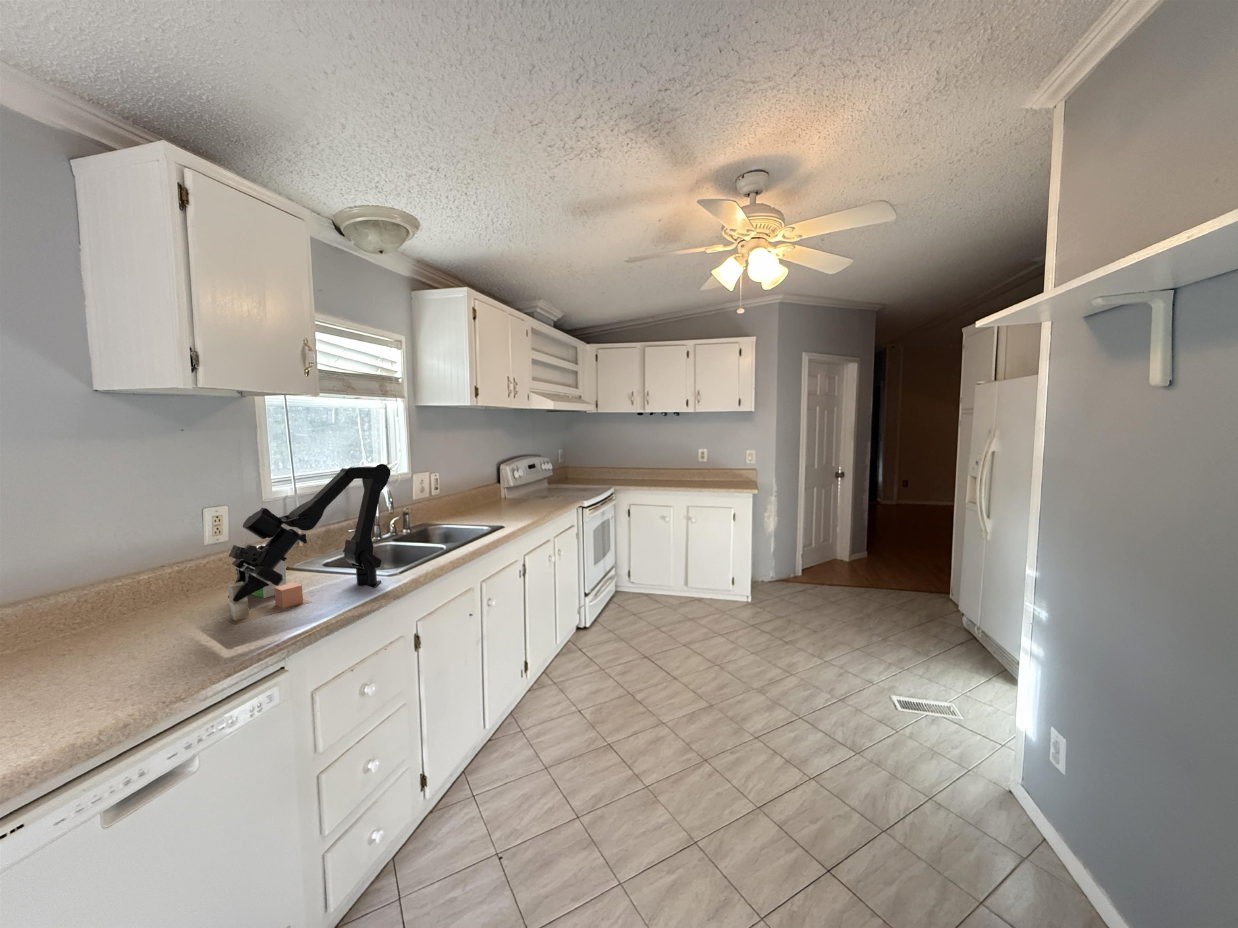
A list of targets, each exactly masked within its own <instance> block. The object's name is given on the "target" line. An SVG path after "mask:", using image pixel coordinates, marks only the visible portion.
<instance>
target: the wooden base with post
mask: <svg viewBox="0 0 1238 928" xmlns="http://www.w3.org/2000/svg"><path fill="white" fill-rule="evenodd" d="M243 583H244V582H237V583H235V582H234V583H229V584H227V588H228V596H229V598H228V599H229V609H230V610H229V611H230V614H229V615H226V616H222V618H223V619H225V620H226V621H228V622H230V623H231V624H233V625H239V624H243V623H245V622H249V621H252V620H256V619H260V618H263V617H267V616H270V615H274V614H276V613H280V612H284V611H288V610H291V609H294V608H297V607H301V606H304V605H305V606H306V605H308V604H312V603H313V602H312V601H310V600H308V599H306V598H303V603H300V604H296V605H293V606H289V607H286V608H282V607H279V606H277V605H275V602H272V603H269V604H266V605H262V606H258V607H254V608H251V609H249V602H248V601H249V600H248V596H247V597H245V598H243V599H241V600H240V601H238V602H235V601H233V598H234V597H235V595H236V593H237V592H238V591H239V589H240V588H241V586H242V585H243Z"/></svg>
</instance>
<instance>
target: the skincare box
mask: <svg viewBox="0 0 1238 928" xmlns="http://www.w3.org/2000/svg"><path fill="white" fill-rule="evenodd" d="M261 545H263V546H265V545H266V543H264V544H260V545H256V546H257V548H258V547H259V546H261ZM286 569H287V565H286V560H285V561H281V562H280V563H279V564H278V565H277V566H276V567H275V569H274V571H276V572H278V573H280V574H281V575H283V580H282V582H281V583H280V584H279V585H278V586H281V585H285V584H287V570H286ZM268 584H269V586H266V587H264V588H262V589H260V590H258V591H256V592H254V593H252V594H250V595H251V596H254V597H255V596H256V597H258V598H259V597H260V598H264V599H266V598H271V597H275V593H274V587H277V586H276V585H274V584H272V583H271V582H268Z"/></svg>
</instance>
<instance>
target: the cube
mask: <svg viewBox="0 0 1238 928" xmlns="http://www.w3.org/2000/svg"><path fill="white" fill-rule="evenodd" d="M274 593H275V595H274V601H275V602H274V603H275V605H277V606H279V607H282V608H286V607H289V606H293V605H296V604H300V603H303V599H304V597H303V586H302V584H300V583H296V582H295V581H294V582H289V583H286V584H285V585H281V586H277V587H274Z"/></svg>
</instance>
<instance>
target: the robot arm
mask: <svg viewBox="0 0 1238 928" xmlns="http://www.w3.org/2000/svg"><path fill="white" fill-rule="evenodd" d="M390 477H391V469H390V467H389V466H388V465H387V464H384V463H373V462H371V463H367V464H366V465H365V466H347V465H346V466H343V467H342V468H341V469H340V470H339V472H338V473H337V474H335V476H334V477H332V478H331V480H329V481H328V482H327V483H326V484H325V486H323V487H322V488H321V489H320V490H319V491H318V492H317V493H316V494H315V495H314V496H313V497H312V498H311V499H309V500H307V501H305V502H304V503H302V504H301V503H300V504H299V505H298V506H297V507H296V508H294V509H292V510H291V511H290V512H289V513H288V514H286V515H282V516H277V515H275V514H274V513H272V512H271V510H269V509H268V508H266V507H261V508H260V509H259V510H257V511H255V512H254V513H253V514H251V515H249V516H248V517H247V518H246V519H245V521H244V522H243V524H242V528H243V529H244V530H246V531H248V532H250V533H251V534H252V535H255V536H256V537H257V538H259V539H260V540H267V539H269V540H268V541H267V542H266V543H265V544H266V545H265V546H263V545H264V544H260V545H261V546H259V545H252V544H247V545H245V546H243V545H242V546H241V545H237V544H233V545H232V547H231V550H230V552H229V555H228V557H229V558H232V559H234V561H232V562H231V565H232V566H234V568H235V572H236V575H237V577H236V579H235V582H234V583H237V582H244V583H243V585H242V586H241V588H240V589H239V591H238V592H237V593H236V595H235V597H234V598H233V601H235V602H238V601H240V600H241V599H243V598H245V597H247V598H248V597H249V596H250V595H251V594H252V593H254V592H256V591H258V590H260V589H262V588H264V587H266V586H269V584H268V582H271V583H272V584H274V585H276V586H278V585H279V584H280V583H281V582H282V580H283V575H281V574H280V573H278V572H276V571H274V569H275V567H276V566H277V565H278V564H279V563H280V562H281V561H285V562H286V560H287V557H286V556H287V555H288V554H289V553H290V551H291V550H292V549H293V548H294V547H295V545H296V544H297V543H298V542H299V543H301V544H304V545H305V544H307V543H308V540H307V534H306V533H299V532H298V531H296V530H299V531H304V532H305V531H310V530H313V529H314V528H315V527H316V526H317V525H318V523H319V522H320V521H321V519H322V518H323V515H324V513H325V510H326V509H327V508H328V507H329V506H330V504H332V502H334V500H336V498H337V497H338V496H339V495H341V493H342V492H343V491H344V490H345V489H346V488H347V487H349V485H350V484H351V483H353V481H354V480H361V482H362V486H363V494H362V499H361V504H360V509H359V513H358V518H357V523H356V526H355V531H354V535H353V536H352V538H351V539H348V538H347V539H345V542H344V545H345V546H344V548H343V550H342V553H344V555H343V556H344V559H345V560H346V561H347V562H348V563H350V565H351V567H352V568H355V575H356V584H357V586H358V587H363V586H366V587H371V588H372V589H374V588H376V587H377V586H378V585H380V584H381V582H382V580H379V579H378V575H377V569H378V568H380V567H381V564H382V560H381V558H379V557H378V556H376V555H375V554H374V543H373V539H372V535H373V530H374V525H375V522H376V521H375V520H376V515H377V511H378V507H379V501H380V497H381V493H382V491H383V490H384V488H385V487H386V486H387V485H388V482H389V480H390ZM283 526H286V527H289V528H288V529H287V528H285V527H283ZM295 529H296V530H295ZM257 546H259V547H258V548H257ZM227 598H228V599H229V595H228V596H227Z"/></svg>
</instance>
